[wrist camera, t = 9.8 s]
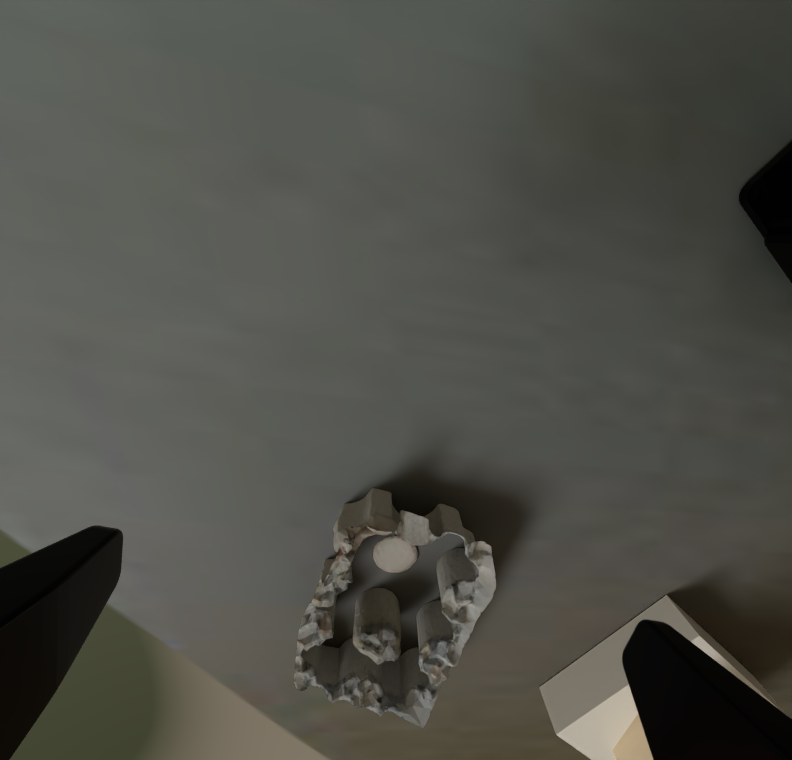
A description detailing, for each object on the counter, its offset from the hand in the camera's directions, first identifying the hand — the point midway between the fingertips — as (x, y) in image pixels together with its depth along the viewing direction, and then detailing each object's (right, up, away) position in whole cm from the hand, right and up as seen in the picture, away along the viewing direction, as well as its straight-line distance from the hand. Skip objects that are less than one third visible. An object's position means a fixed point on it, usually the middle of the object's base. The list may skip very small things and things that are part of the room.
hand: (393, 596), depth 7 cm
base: (+15, -14, +18) cm, 27 cm away
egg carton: (0, -7, +15) cm, 17 cm away
